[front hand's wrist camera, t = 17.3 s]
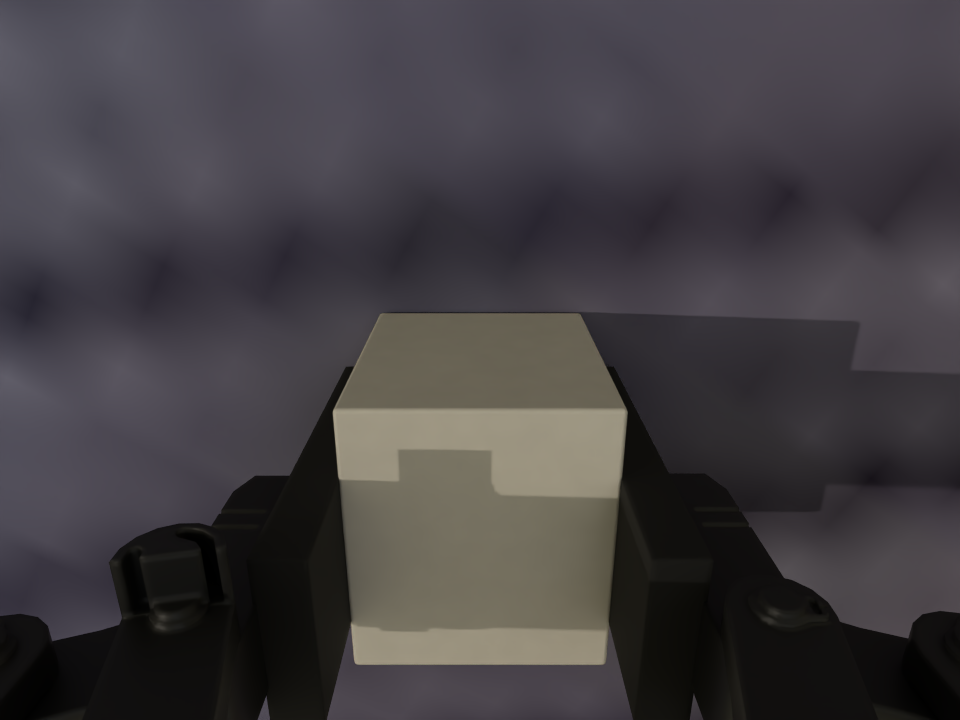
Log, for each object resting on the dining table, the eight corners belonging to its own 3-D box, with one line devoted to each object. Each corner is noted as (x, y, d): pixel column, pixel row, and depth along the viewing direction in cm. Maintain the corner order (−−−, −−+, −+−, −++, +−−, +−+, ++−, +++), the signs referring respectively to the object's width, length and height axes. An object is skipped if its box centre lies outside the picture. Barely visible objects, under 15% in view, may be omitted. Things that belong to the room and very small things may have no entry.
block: (580, 312, 14) (628, 409, 9) (570, 505, 16) (607, 666, 11) (379, 312, 14) (330, 409, 9) (390, 505, 16) (353, 666, 11)
